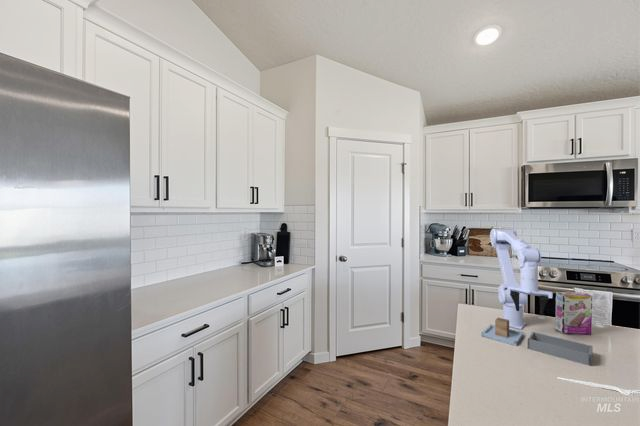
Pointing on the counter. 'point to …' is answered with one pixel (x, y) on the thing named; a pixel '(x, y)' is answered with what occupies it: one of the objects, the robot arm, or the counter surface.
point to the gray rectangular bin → (561, 348)
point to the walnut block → (502, 327)
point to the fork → (603, 386)
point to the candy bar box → (573, 313)
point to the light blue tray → (511, 339)
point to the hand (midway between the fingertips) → (529, 312)
